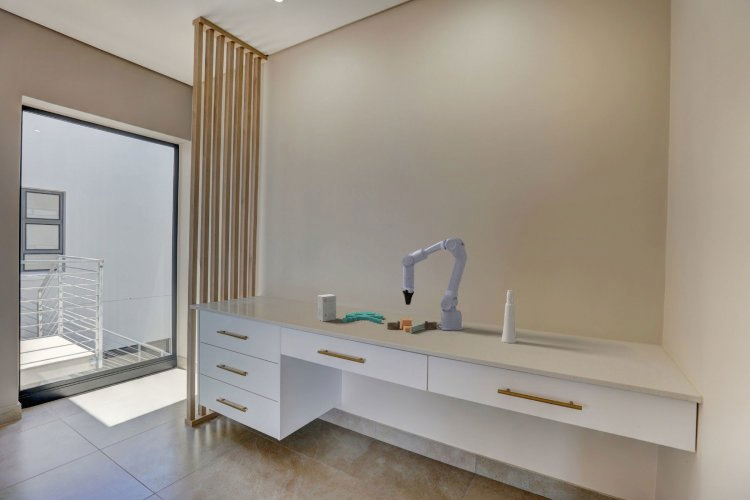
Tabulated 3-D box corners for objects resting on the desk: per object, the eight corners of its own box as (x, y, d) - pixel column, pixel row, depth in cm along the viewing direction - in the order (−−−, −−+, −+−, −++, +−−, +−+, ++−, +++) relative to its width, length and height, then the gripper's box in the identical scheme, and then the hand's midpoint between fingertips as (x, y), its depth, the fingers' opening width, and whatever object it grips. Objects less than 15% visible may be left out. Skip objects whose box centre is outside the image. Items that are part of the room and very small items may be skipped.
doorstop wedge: (409, 327, 172) (409, 318, 172) (414, 331, 164) (414, 322, 164) (400, 327, 171) (401, 318, 171) (405, 332, 163) (405, 322, 163)
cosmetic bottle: (513, 344, 146) (514, 291, 146) (499, 341, 150) (500, 290, 150) (518, 341, 151) (520, 290, 150) (504, 338, 155) (506, 288, 154)
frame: (435, 327, 171) (436, 320, 171) (436, 329, 169) (437, 321, 169) (387, 328, 169) (387, 321, 169) (387, 329, 167) (387, 322, 167)
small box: (330, 317, 191) (330, 293, 190) (336, 319, 186) (336, 295, 185) (316, 319, 186) (317, 295, 185) (322, 321, 181) (322, 296, 180)
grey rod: (423, 327, 170) (423, 322, 170) (426, 328, 169) (426, 323, 169) (409, 332, 161) (409, 327, 161) (412, 333, 160) (412, 327, 160)
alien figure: (381, 324, 178) (383, 315, 198) (381, 320, 178) (383, 312, 198) (342, 323, 180) (349, 314, 200) (342, 319, 180) (349, 310, 200)
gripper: (398, 276, 187) (398, 301, 188) (402, 280, 173) (402, 307, 173) (411, 276, 188) (411, 301, 188) (417, 280, 174) (416, 307, 174)
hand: (407, 304), depth 181 cm, fingers closed
